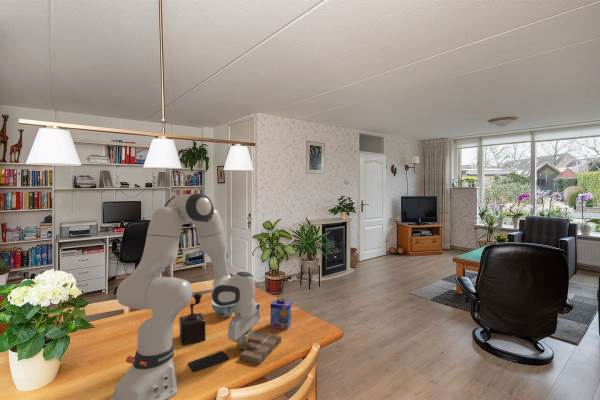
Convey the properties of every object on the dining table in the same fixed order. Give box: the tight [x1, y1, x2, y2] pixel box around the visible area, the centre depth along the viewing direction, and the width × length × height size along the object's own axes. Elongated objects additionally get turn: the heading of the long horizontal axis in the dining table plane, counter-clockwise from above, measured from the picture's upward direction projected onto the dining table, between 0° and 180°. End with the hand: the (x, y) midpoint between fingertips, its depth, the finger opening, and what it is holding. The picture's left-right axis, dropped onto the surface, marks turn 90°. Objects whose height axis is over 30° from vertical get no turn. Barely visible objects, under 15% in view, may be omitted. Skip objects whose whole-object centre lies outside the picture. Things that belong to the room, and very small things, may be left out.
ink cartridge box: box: [269, 298, 292, 330], centre depth 154 cm, size 10×6×14 cm, turn 78°
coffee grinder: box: [178, 292, 207, 346], centre depth 142 cm, size 16×11×18 cm
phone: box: [187, 350, 230, 373], centre depth 122 cm, size 7×1×15 cm
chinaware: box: [210, 299, 234, 318], centre depth 166 cm, size 15×15×8 cm
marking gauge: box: [236, 331, 263, 351], centre depth 130 cm, size 4×11×6 cm, turn 68°
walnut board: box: [239, 332, 282, 366], centre depth 131 cm, size 20×9×3 cm, turn 158°
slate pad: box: [235, 331, 263, 342], centre depth 141 cm, size 10×11×1 cm
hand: (244, 340), depth 131 cm, fingers closed on marking gauge, 4 cm apart
